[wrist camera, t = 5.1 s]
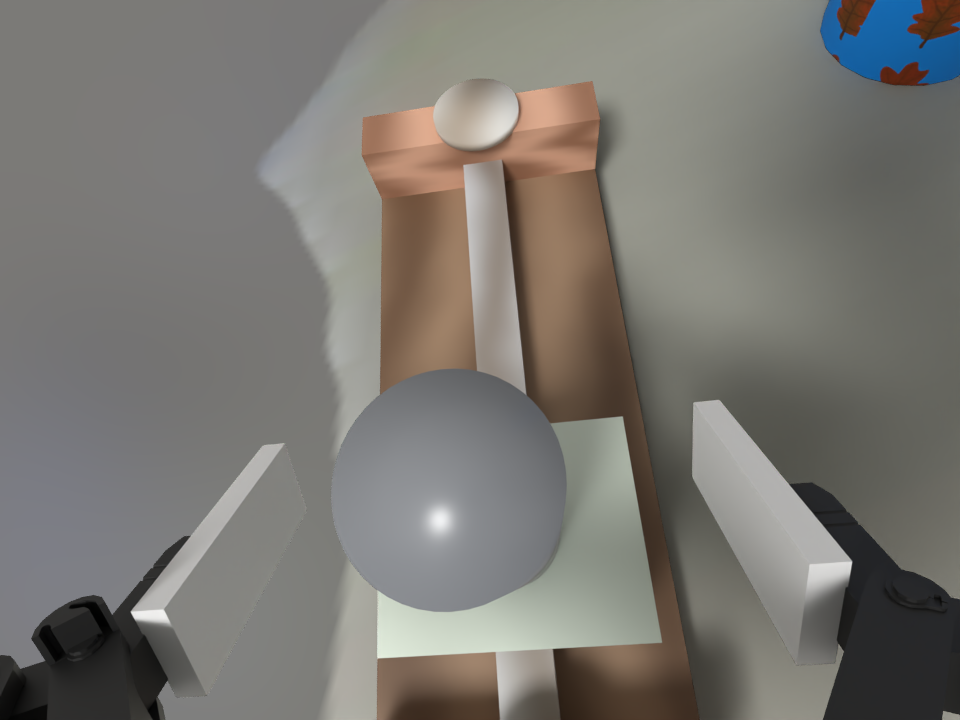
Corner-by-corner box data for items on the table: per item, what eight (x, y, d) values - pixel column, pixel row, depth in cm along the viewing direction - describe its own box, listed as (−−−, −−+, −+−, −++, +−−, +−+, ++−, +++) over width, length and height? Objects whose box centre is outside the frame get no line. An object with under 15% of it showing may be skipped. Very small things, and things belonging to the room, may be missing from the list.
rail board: (584, 144, 37) (590, 60, 31) (710, 828, 22) (769, 925, 16) (391, 173, 38) (359, 97, 32) (389, 835, 23) (332, 927, 17)
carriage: (612, 439, 24) (699, 241, 10) (643, 630, 21) (839, 759, 7) (404, 458, 25) (200, 305, 11) (406, 644, 22) (123, 782, 8)
